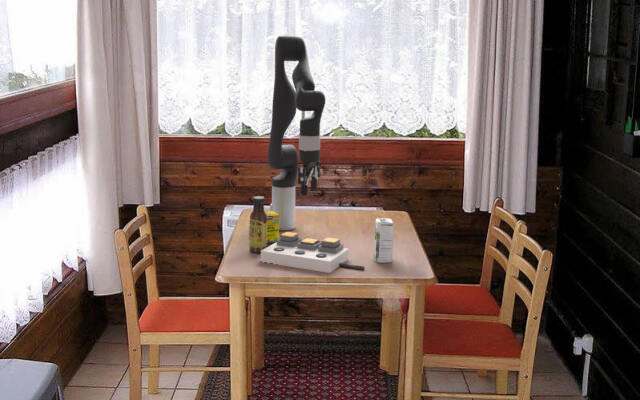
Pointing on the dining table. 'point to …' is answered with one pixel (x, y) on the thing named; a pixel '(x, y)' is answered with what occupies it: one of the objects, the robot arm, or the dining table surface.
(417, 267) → the dining table surface
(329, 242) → the switch
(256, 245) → the sauce bottle
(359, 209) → the dining table surface
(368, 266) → the dining table surface
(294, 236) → the switch
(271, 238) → the supplement box
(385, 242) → the syrup box
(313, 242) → the switch
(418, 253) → the dining table surface
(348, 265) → the switch panel
